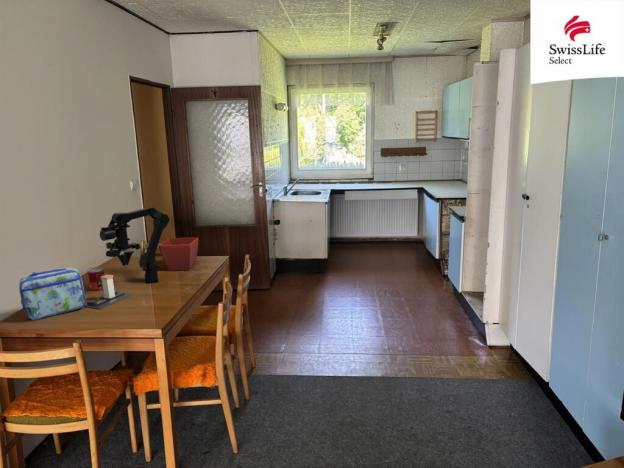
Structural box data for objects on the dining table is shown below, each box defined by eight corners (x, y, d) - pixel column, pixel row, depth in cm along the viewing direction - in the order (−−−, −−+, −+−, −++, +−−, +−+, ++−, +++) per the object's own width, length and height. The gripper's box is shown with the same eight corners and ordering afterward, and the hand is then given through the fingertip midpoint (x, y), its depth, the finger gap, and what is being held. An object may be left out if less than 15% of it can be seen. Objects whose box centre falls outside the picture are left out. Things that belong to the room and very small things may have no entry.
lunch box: (24, 323, 210) (16, 279, 205) (23, 316, 219) (15, 273, 214) (87, 309, 223) (81, 267, 219) (84, 303, 232) (78, 262, 228)
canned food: (100, 291, 250) (97, 271, 247) (87, 290, 251) (84, 271, 249) (109, 286, 257) (106, 267, 255) (96, 286, 259) (93, 266, 256)
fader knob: (110, 295, 238) (107, 274, 236) (116, 296, 236) (113, 275, 234) (103, 298, 234) (100, 277, 232) (109, 298, 233) (106, 277, 230)
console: (114, 292, 246) (113, 288, 245) (131, 295, 241) (131, 290, 240) (82, 306, 228) (81, 301, 227) (100, 309, 223) (99, 304, 222)
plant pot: (171, 263, 297) (168, 238, 293) (201, 262, 296) (198, 236, 292) (161, 272, 278) (157, 245, 274) (192, 271, 277) (189, 244, 273)
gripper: (123, 232, 257) (127, 259, 260) (96, 240, 240) (100, 269, 243) (139, 233, 252) (142, 261, 256) (112, 241, 236) (116, 271, 239)
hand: (125, 265), depth 248 cm, fingers closed
